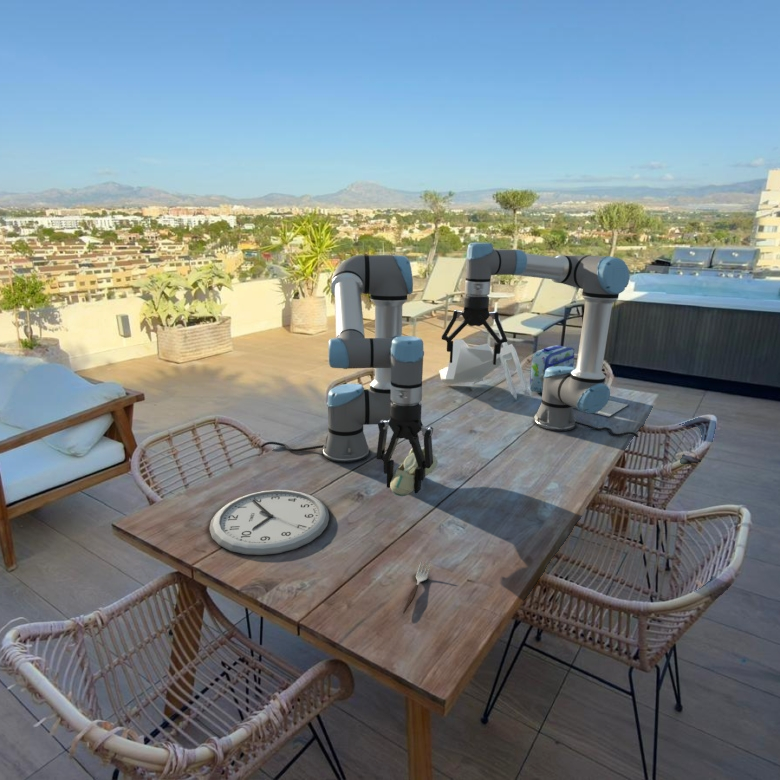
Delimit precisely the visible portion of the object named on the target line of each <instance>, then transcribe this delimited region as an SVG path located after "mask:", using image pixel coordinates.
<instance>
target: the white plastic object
mask: <svg viewBox="0 0 780 780" xmlns="http://www.w3.org/2000/svg"><path fill="white" fill-rule="evenodd" d="M495 311H496V310H495ZM495 311H493V312H495ZM499 321H500V324H501V326H502V328H503V325H502V321H501V318H500V317H499ZM496 328H497V332H498V335H499V339H501V338H502V336H501V334H500V332H499V329H498V327H497V326H496ZM503 329H504V328H503ZM501 346H502V347H501V350H500V354H497V356H496V365H493V353H494V349H493V348H492V347H491V346H490V344H489V343H488V342H487V343H483V344H479V345H473V346H469V345H468V343H466V342H465V340H464V339H463V338H460V339H458V338H453V356H452V363H450V360H449V362H448V366H446V367H444V368H442V369H440V370H439V371H438V372H439V376H440V381H442V383H443V384H444V385H445V386H449V385H458V384H467V383H468V384H469V383H473V384H477V383H480V382H482V381H484V378H485V377H486V376H487V375H489V374H490V373H492V372H494V371H495V370H496V369H497V368H499V367H500V366H502V370H503V373H504V376H505V380H506V383H507V386H508V390H509V393H510V394H511V395H512V397H513V398H514V399H515V400H517V392H516V391H517V390H516V388H515V385H514V381H513V378H512V375H511V371H510V369H509V365H508V361H510V360H513V363H514V366H515V369H516V372H517V376H518V380H519V382H520V385H521V389H522V391H523V393H524V395H525V396H526V397H528V396H531V395H530V389H529V388H528V387H529V386H528V384H527V381H526V378H525V375H524V371H523V369H522V368H523V367H522V366H521V362H520V359H519V355H518V352H517V349H516V347H515V346H514V345H513V343H511V344H508V341H507V342H504V343H502V344H501Z"/></svg>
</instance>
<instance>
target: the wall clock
mask: <svg viewBox="0 0 780 780" xmlns="http://www.w3.org/2000/svg"><path fill="white" fill-rule="evenodd" d="M329 521H330V514H329V509H328V507H327V506H326V505H325V504H324V503H323V502H322V501H321V500H320V499H318V498H317V497H315V496H313V495H310V494H308V493H304V492H301V491H295V490H291V489H290V490H288V489H272V490H270V489H269V490H262V491H258V492H252V493H249V494H246V495H244V496H240V497H238V498H235V499H234V500H231V501H230V502H229V503H226V504H225V505H224V506H223V507H222V508H221V509H219V510H218V511H216V513H215V514H214V516H213V517H212V518H211V521H210V524H209V533H210V536H211V539H212V540H213V541H214V542H215V543H216V544H217V545H218V546H219V547H222V548H224V549H226V550H228V551H230V552H234V553H237V554H243V555H254V556H266V555H274V554H275V555H276V554H281V553H285V552H289V551H292V550H296V549H298V548H301V547H304V546H305V545H307V544H309V543H311V542H313V541H314V540H316V539H317V538H318V537H319V536H321V535H322V534H323V532H324V531H325V530H326V529H327V527H328V525H329Z"/></svg>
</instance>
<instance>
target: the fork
mask: <svg viewBox="0 0 780 780" xmlns="http://www.w3.org/2000/svg"><path fill="white" fill-rule="evenodd" d="M422 561H423V560H422V559H421V560H420V564H419V566H418V570H417V572H416V575H415V579H416V581H417V583H416V584H415V585H414V587H413V588H412V589H411V591H410V592H409V594H408V597H407V600H406V603H405V605H404V610H403V611H402V613H403V614H405V613H406V612H407V610H408V608H409V606H410V604H411V603H412V602H413V600H414V599H415V597H416V595H417V591H418V588H419V584H420V583H422V582H425V581H427V579H428V578H429V575H430V569H431V565H432V562H430V563H429V561H427V562H426V560H424V562H423V564H422ZM425 562H426V563H425ZM428 563H429V564H428ZM425 564H426V565H425ZM428 565H429V566H428ZM421 566H422V567H421Z"/></svg>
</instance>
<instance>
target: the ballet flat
mask: <svg viewBox="0 0 780 780" xmlns="http://www.w3.org/2000/svg"><path fill="white" fill-rule="evenodd" d="M421 449H422V452H423V455H424V458H425V452H424V446H421ZM438 464H439V463H438V459H437V457H436V456H435V455H434V454H433V464H432V465H431V467H430V468H425V477H427V476H428V475H430V474H431V473H432V472H433V471H435V470H436V469H437V467H438ZM417 467H418V464H417V461H416V458H415V455H414V452H413V449H412V448H411V449H410V450H409V452H408V455H407V456H406V458H405V459H404V461H403V462H402V463H401V465H400V466H398V467H397V469H395V470H396V471H395V473H393V477H392V480H391V483H390V490H391V492H392V493H393V494H394V495H395V496H398V497H405V496H408V495H409V494H410V493H412V492H413V491H414V492H415V469H416V468H417Z"/></svg>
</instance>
